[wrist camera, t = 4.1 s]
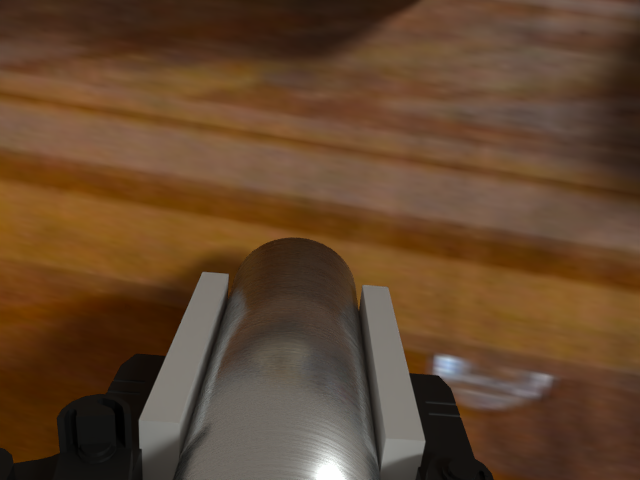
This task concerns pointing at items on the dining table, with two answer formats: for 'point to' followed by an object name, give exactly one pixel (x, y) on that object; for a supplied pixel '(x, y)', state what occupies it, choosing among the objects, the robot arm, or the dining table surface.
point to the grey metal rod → (285, 375)
